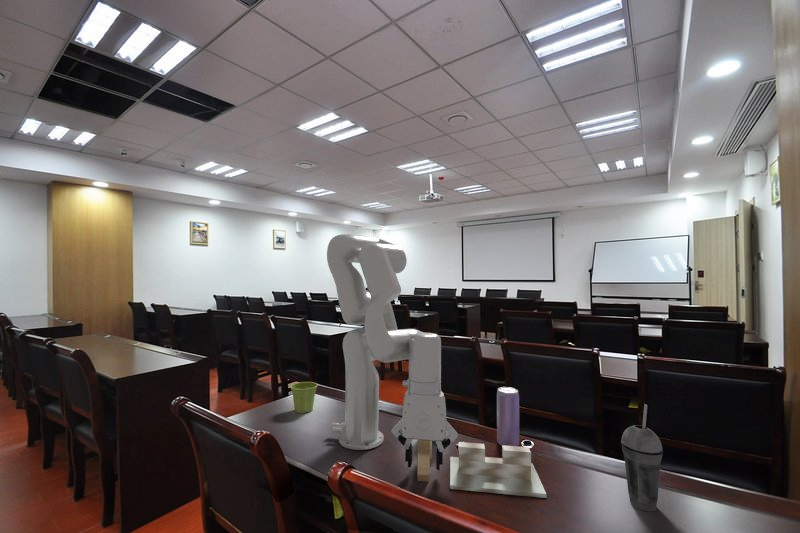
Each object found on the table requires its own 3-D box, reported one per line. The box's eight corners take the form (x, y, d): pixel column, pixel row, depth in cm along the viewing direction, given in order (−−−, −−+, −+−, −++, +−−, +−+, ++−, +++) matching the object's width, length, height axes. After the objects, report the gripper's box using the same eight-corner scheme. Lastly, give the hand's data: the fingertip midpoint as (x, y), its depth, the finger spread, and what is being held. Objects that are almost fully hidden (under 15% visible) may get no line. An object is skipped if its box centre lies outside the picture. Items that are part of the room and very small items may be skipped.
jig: (450, 488, 77) (450, 456, 77) (450, 459, 90) (450, 432, 90) (546, 497, 74) (546, 464, 75) (532, 466, 87) (532, 438, 87)
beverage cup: (613, 494, 76) (611, 399, 77) (645, 493, 76) (643, 398, 77) (639, 516, 68) (637, 411, 70) (674, 515, 69) (671, 410, 70)
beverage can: (520, 450, 96) (520, 393, 97) (497, 447, 97) (497, 392, 98) (517, 440, 102) (517, 387, 103) (496, 438, 103) (496, 386, 104)
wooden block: (428, 481, 80) (429, 440, 80) (417, 480, 80) (417, 439, 81) (431, 456, 92) (432, 421, 92) (421, 455, 92) (422, 420, 92)
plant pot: (284, 414, 120) (285, 388, 120) (296, 405, 129) (297, 381, 130) (311, 416, 119) (311, 389, 119) (321, 406, 128) (321, 382, 128)
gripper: (385, 389, 81) (384, 471, 80) (462, 393, 78) (462, 478, 77) (391, 380, 88) (390, 455, 87) (461, 384, 85) (461, 461, 84)
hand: (424, 465), depth 82 cm, fingers open, 5 cm apart
